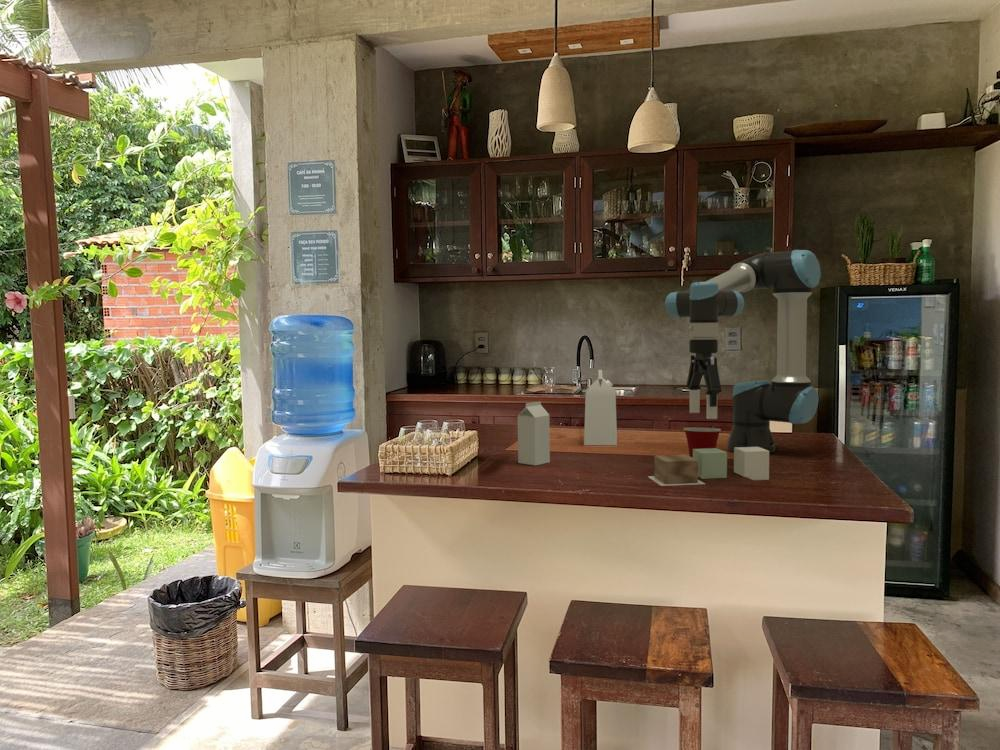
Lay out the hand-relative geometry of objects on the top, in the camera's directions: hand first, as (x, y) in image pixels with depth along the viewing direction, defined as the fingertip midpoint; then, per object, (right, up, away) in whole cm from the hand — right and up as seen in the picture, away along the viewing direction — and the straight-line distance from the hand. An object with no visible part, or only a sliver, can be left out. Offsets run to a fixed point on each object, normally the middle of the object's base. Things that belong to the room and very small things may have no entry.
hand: (702, 415), depth 212 cm
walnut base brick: (-9, -17, -5) cm, 20 cm away
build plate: (-9, -18, -5) cm, 21 cm away
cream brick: (+14, -17, +1) cm, 22 cm away
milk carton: (-45, -16, +27) cm, 55 cm away
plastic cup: (+4, -16, +16) cm, 23 cm away
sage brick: (+2, -18, 0) cm, 18 cm away
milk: (-20, -13, +62) cm, 66 cm away
